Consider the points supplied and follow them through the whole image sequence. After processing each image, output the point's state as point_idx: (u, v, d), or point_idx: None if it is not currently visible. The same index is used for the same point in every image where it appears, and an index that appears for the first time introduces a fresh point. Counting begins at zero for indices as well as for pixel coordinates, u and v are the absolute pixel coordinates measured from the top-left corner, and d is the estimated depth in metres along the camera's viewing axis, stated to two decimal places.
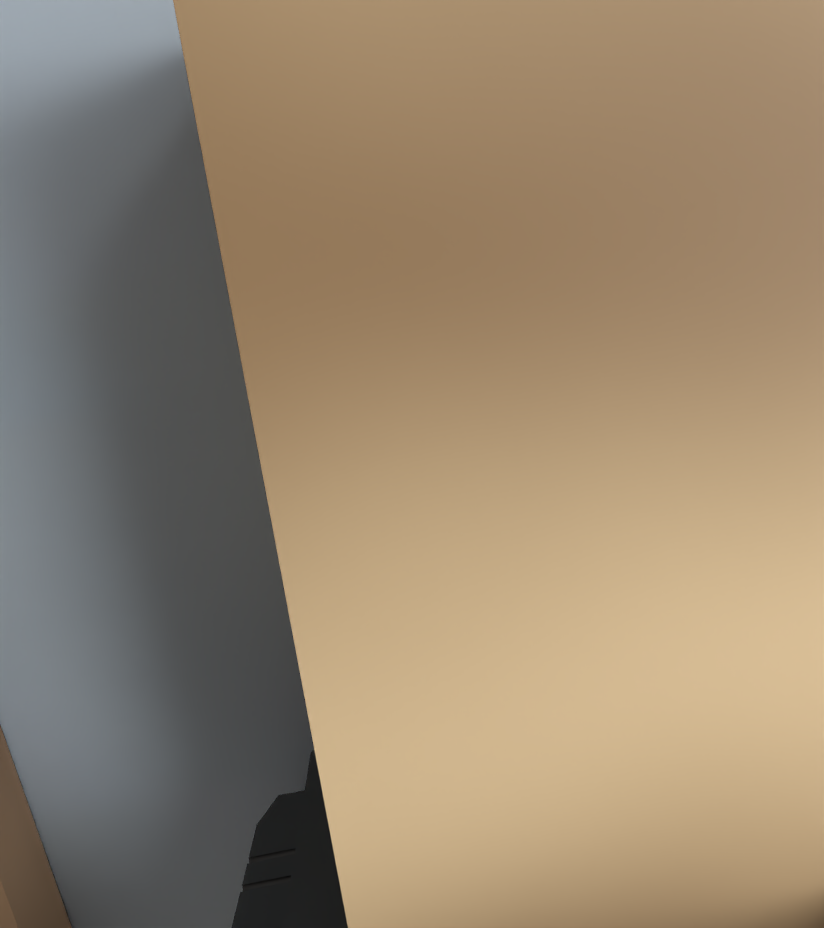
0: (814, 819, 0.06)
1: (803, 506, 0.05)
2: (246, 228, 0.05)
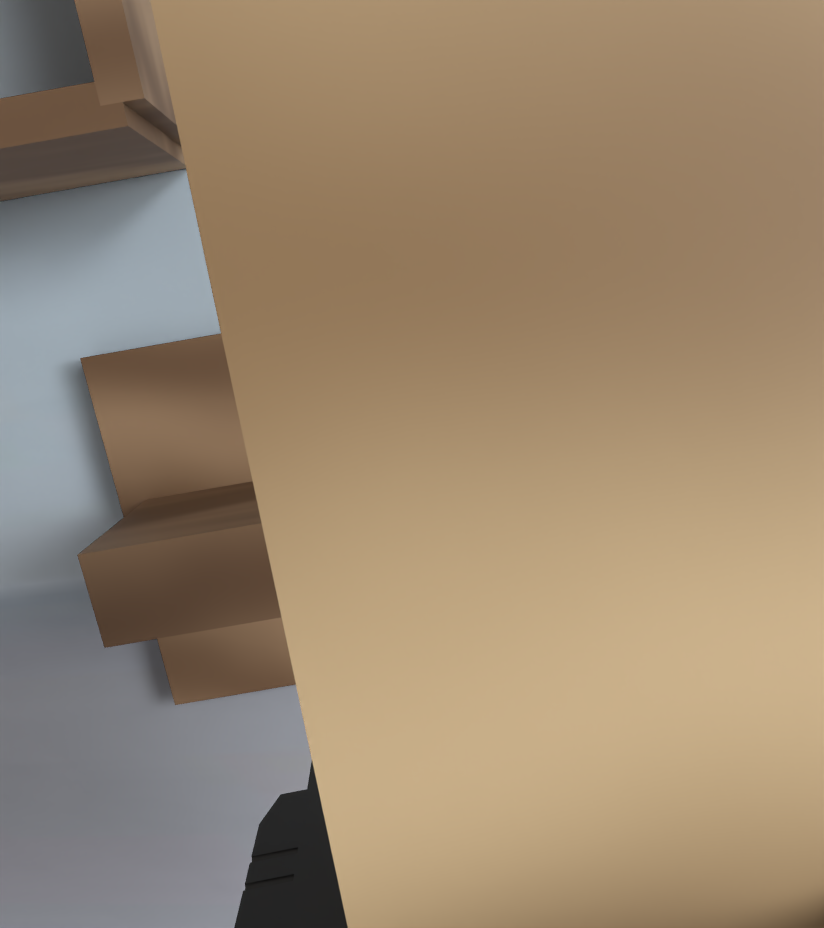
0: (818, 825, 0.06)
1: (800, 511, 0.05)
2: (233, 244, 0.05)
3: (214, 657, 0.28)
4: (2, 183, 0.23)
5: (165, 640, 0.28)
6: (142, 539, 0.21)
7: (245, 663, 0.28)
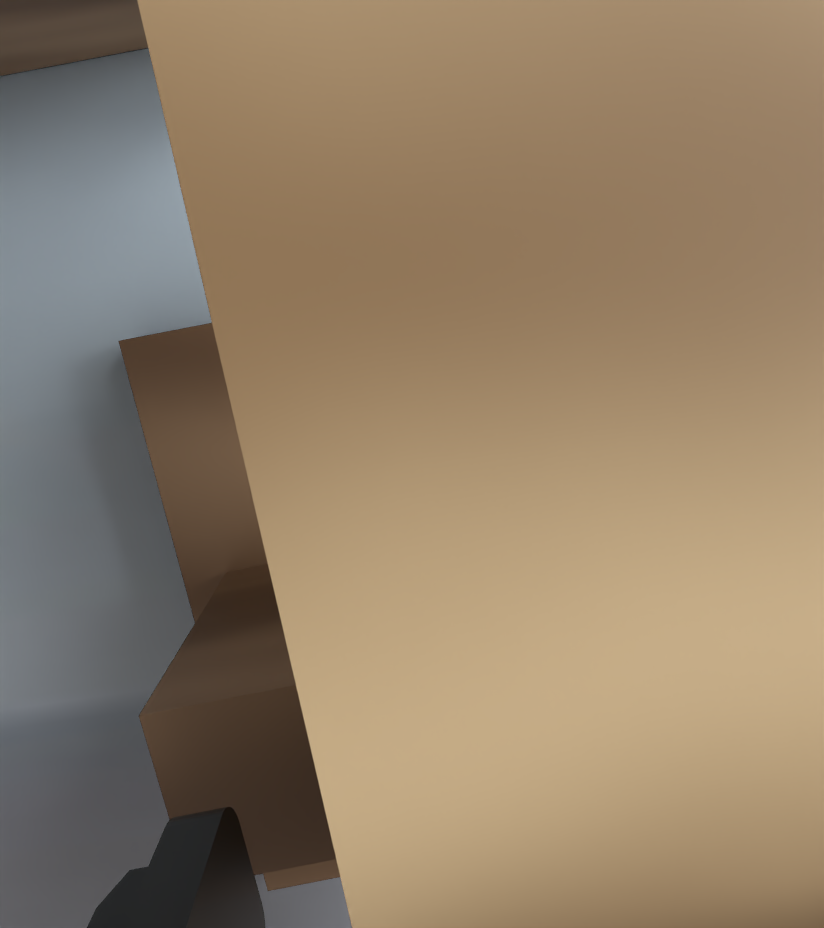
0: (808, 804, 0.06)
1: (782, 496, 0.05)
2: (224, 245, 0.05)
3: None
4: None
5: None
6: (261, 676, 0.11)
7: None
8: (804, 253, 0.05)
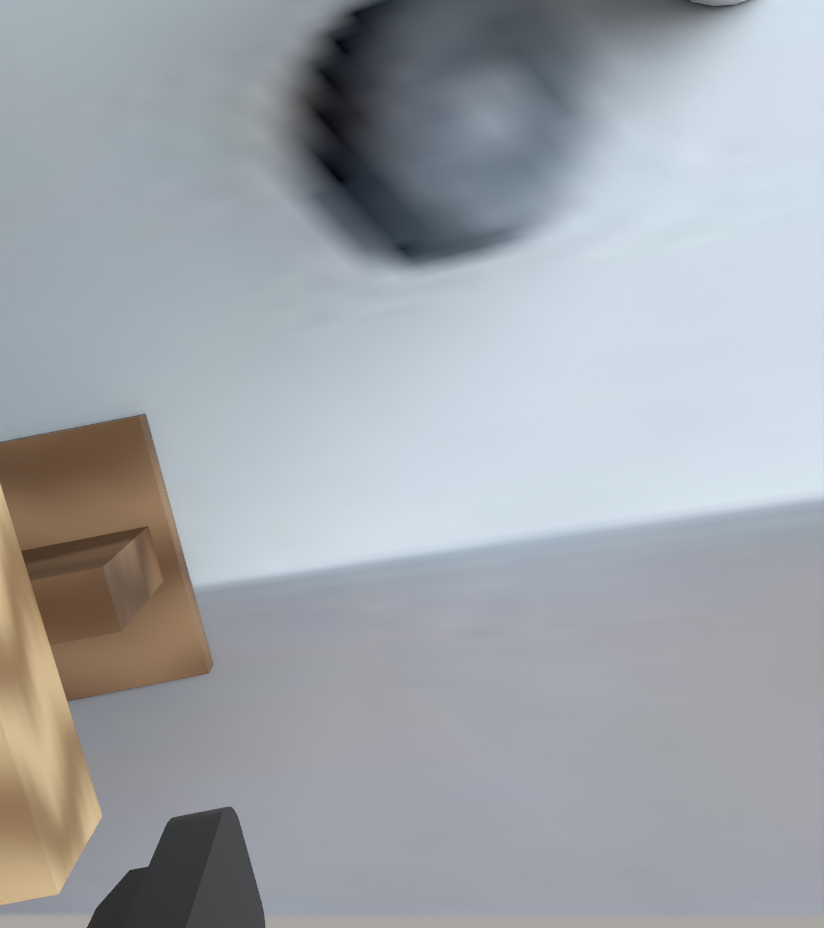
0: None
1: None
2: None
3: None
4: None
5: None
6: None
7: None
8: None
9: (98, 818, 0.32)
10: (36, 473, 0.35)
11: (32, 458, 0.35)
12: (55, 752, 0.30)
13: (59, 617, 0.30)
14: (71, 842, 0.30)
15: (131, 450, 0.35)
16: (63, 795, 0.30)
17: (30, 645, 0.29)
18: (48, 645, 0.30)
